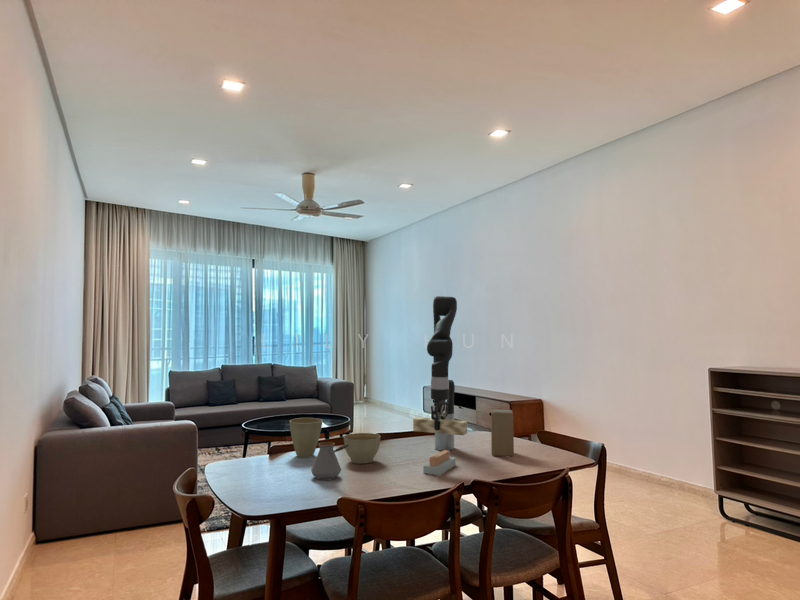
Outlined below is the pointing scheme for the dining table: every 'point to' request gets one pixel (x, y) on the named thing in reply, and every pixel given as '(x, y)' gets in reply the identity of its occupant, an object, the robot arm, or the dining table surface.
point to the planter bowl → (362, 446)
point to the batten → (445, 426)
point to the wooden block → (502, 433)
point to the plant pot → (305, 435)
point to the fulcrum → (439, 463)
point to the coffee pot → (327, 462)
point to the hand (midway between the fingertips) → (439, 428)
